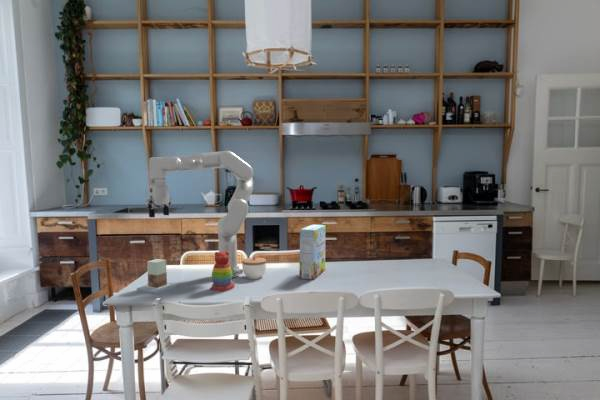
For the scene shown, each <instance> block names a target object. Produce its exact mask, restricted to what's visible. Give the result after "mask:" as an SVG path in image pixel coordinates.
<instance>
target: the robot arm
mask: <svg viewBox="0 0 600 400" xmlns="http://www.w3.org/2000/svg"><path fill="white" fill-rule="evenodd" d="M148 161H149V165H148V166H149V181H148V182H149V186H148V197H147V198H146V199H145V200H144V204H145V207H146V208H147V210H148V217H149V218H156V211H155V207H156V206H161V205H162V206H163V207H162V213H163V216H169V215H170V207H171V203H172V200H173V199H172V197H170V190H169V186H168V184H167V177H166V174H167V173H166V172H173V173H175V172H183V171H193V170H195V171H197V170H198V171H202V170H204V171H205V170H211V169H213V170H215V169H222V168H225V169H227V171H229V172H230V173H232V174H233V175H234V177H235V178H236V180H237V185H236V188H235V190H234V193H233V195H232V196H231V199H230V200H229V202H228V204H227V213H226V215H225V216H221V218H220V219H219V220H218V222H217V235H218V237H217V238H218V252H228V253H229V255H228V256H229V261H228V264H229V265H230V267H231V271H232V278H236V277H239V276H240V275H242V274H244V272H243V268H242V269H241V268H240V266H238V238H237V235H238V233H240V230H241V228H242V226H243V224H244V222H245V220H246V218H247V216H248V213H249V211H250V210H249V209H250V207H249V203H248V202H249V199H251V198H250V197H251V196H252V193H253V191H254V190H253V189H254V179H253V177H254V169H253V167H252V166H251V165H250V164H249V163H247V162H246V161H244V159H242V158H240V157H239V156H238V155H237V154H235V153H234V152H232V151H231V150H223V151H222V150H221V151H211V152H201V153H200V152H199V153H195V154H190V155H181V156H165V157H161V156H152V157H150V158H149V160H148Z"/></svg>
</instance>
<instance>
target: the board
mask: <svg viewBox="0 0 600 400" xmlns="http://www.w3.org/2000/svg"><path fill="white" fill-rule="evenodd" d="M176 287H178V283H176V282H169V281H167V285H165V286H162V287H159V288H155V287H148V284H146V285H145V284H144V285H142V286H140V287H137V288H136V292H143V293H149V294H156V295H157V294H160V293H162V292H164V291H167V290H170V289H174V288H176Z"/></svg>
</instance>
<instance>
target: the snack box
mask: <svg viewBox="0 0 600 400" xmlns="http://www.w3.org/2000/svg"><path fill="white" fill-rule="evenodd" d="M326 230H327V226H326V225H324V224H310V225H308V226H307V225H306V226H305V227H303V228H301V229H300V230H299V276H298V277H299V278H298V279H304V280H310V281H312V280H315V279H316V278H317V277H319V276H320V275H321V274H322V273H324V272H326V241H327V240H326V232H327V231H326Z"/></svg>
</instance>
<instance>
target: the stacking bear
mask: <svg viewBox="0 0 600 400" xmlns="http://www.w3.org/2000/svg"><path fill="white" fill-rule="evenodd" d="M228 255H229V253H228V252H219V251H215V253H214V262H215V264H213V268H212V272H211V279H212V280H211V281H212V284H211V290H213V291H214V292H227V291H231V290H232V289H234V288H235V287H236V286H235V283H234V282H232V279H233V277H232V271H231V267H230V265H229V264H228V261H229V256H228Z"/></svg>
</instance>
